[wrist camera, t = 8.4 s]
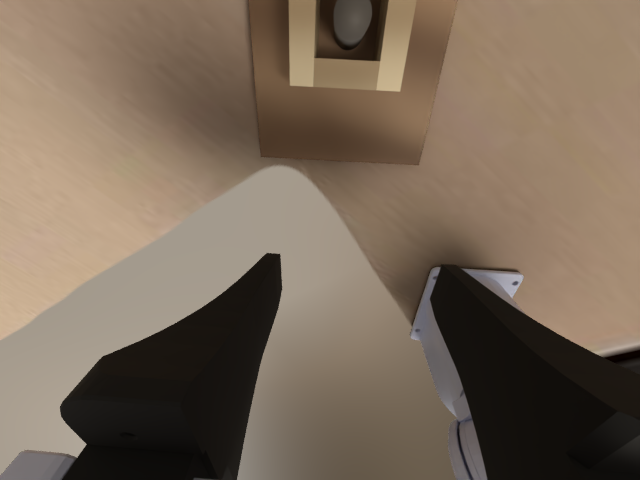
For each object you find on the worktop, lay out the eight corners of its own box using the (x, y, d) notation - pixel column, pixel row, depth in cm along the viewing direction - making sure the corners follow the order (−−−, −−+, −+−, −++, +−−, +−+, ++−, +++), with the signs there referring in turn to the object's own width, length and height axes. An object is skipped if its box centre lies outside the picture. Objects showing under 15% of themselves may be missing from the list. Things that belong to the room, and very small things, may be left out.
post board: (415, 161, 18) (438, 183, 14) (264, 153, 19) (242, 173, 14) (488, -162, 11) (582, -317, 7) (241, -166, 12) (184, -317, 7)
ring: (389, 91, 15) (400, 91, 13) (297, 85, 16) (289, 85, 13) (411, -41, 12) (429, -75, 10) (297, -46, 13) (287, -80, 10)
